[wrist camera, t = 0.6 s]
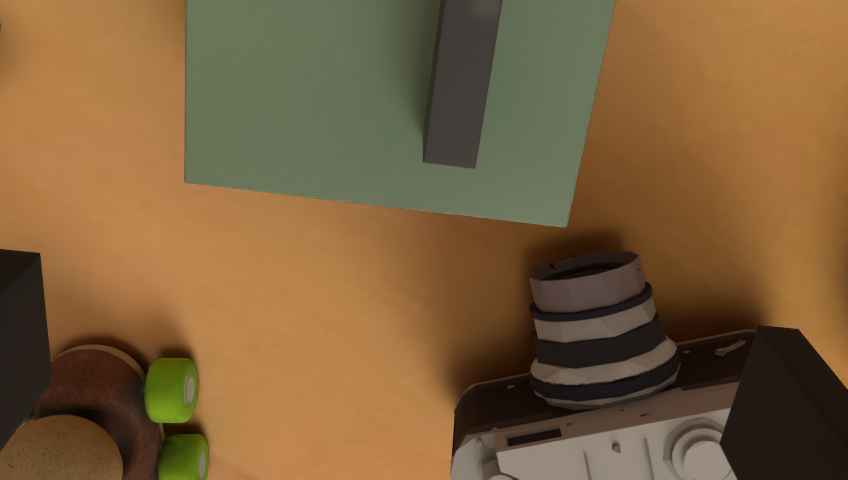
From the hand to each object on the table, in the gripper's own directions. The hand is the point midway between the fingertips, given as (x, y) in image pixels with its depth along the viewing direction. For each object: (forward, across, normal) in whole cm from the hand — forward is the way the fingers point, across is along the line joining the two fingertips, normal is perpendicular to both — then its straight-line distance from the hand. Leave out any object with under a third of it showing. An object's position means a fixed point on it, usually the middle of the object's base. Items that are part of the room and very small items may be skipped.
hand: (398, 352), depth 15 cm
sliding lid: (+13, -1, +4) cm, 14 cm away
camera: (+20, +10, -10) cm, 25 cm away
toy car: (+20, -13, -18) cm, 30 cm away
